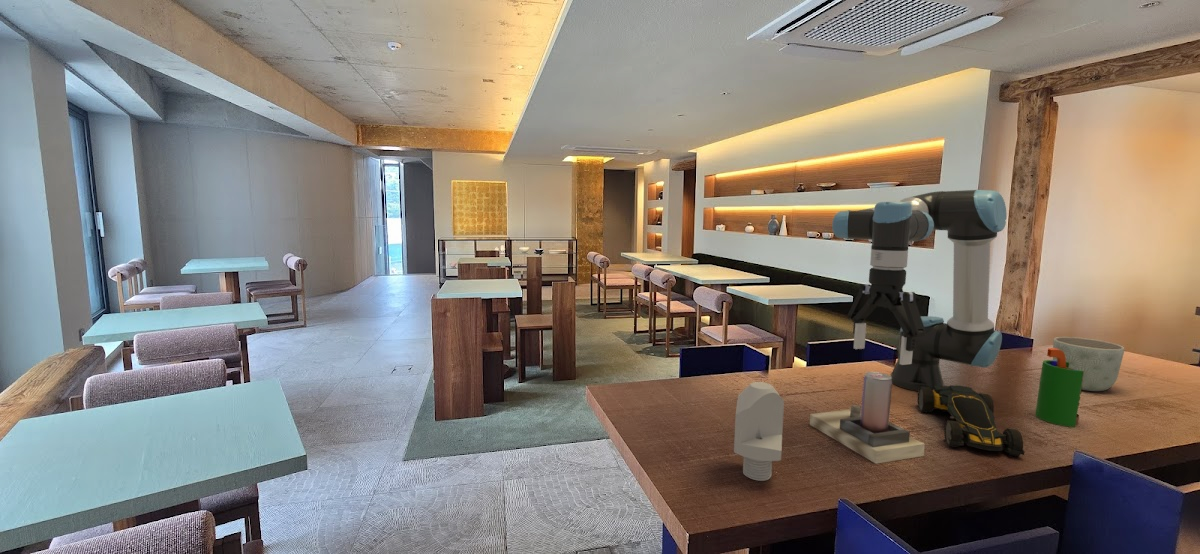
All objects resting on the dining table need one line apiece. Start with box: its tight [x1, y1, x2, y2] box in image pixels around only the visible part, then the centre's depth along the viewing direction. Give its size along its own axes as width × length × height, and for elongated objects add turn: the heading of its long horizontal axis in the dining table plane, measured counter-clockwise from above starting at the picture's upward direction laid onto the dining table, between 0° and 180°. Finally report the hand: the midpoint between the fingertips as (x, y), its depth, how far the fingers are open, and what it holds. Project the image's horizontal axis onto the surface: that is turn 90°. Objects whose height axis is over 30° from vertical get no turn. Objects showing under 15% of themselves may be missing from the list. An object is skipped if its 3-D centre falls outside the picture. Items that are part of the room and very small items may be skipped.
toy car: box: [917, 385, 1026, 457], centre depth 131 cm, size 16×32×10 cm, turn 159°
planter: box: [1052, 336, 1125, 392], centre depth 166 cm, size 17×17×15 cm
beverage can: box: [860, 371, 893, 434], centre depth 120 cm, size 6×6×15 cm
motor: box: [1034, 347, 1084, 428], centre depth 138 cm, size 10×9×20 cm
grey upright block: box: [733, 381, 785, 482], centre depth 107 cm, size 9×9×20 cm
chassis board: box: [809, 404, 926, 465], centre depth 125 cm, size 22×14×6 cm, turn 16°
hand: (880, 355), depth 119 cm, fingers open, 13 cm apart
